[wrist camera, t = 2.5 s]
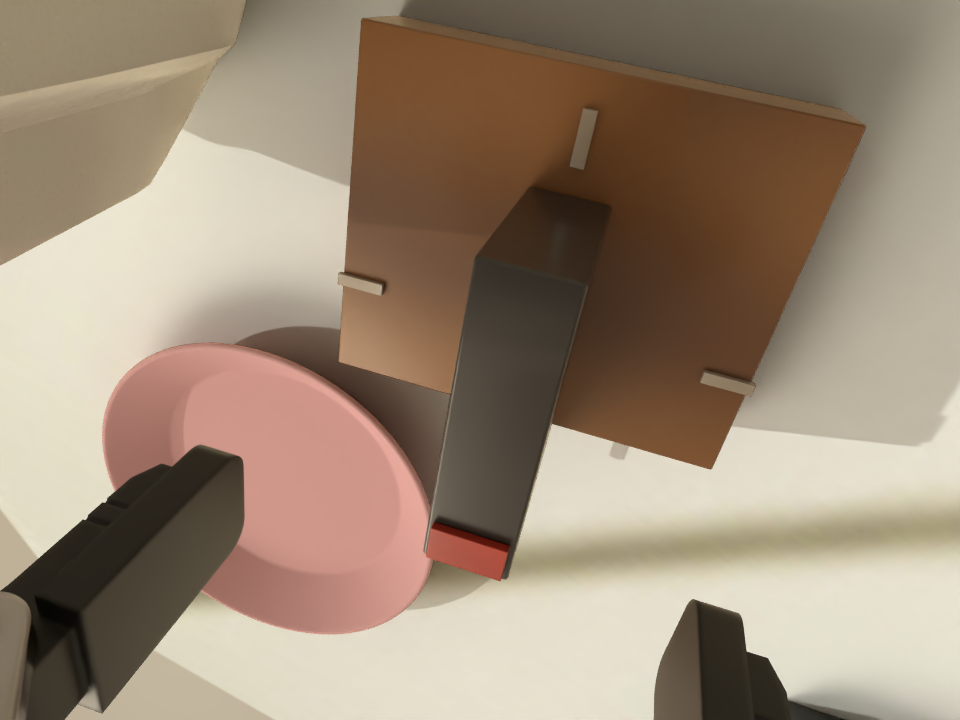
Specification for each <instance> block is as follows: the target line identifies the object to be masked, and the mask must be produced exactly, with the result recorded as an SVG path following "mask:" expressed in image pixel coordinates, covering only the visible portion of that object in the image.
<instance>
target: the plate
mask: <svg viewBox="0 0 960 720" xmlns="http://www.w3.org/2000/svg"><path fill="white" fill-rule="evenodd" d="M102 442H103V452H104V459H105V463H106V467H107V471H108V474H109V477H110V480H111V483H112V486H113V488H114V491H116V490H117V489H119V488H120V487H121V486H122V485H123V484H124V483H125V482H127V481H128V480H129V479H130V478H131V477H134V476H136V475H138V474H140V473H142V472H144V471H146V470H148V469H151V468H153V467H155V466H157V465H159V464H161V463H162V464H165V465H168V466H171V467H172V466H173V465H174V464H175V463H177V462H178V461H179V460H180V459H181V458H182V457H183V456H184V455H185V454H186V453H187V452H188V451H189V450H191V449H192V448H193V447H195V446H197V445H205V446H208V447H212V448H215V449H218V450H221V451H224V452H228V453H231V454H234V455H237V456H240V457H241V458H242V460H243V464H244V509H245V519H244V526H243V530H242V533H241V535H240V538H239V540H238V542H237V544H236V546H235V548H234V549H233V551H232V552H231V554H230V555H229V556H228V557H227V559H226V560H225V561H224V562H223V564H222V565H221V566H220V567H219V569H218V570H217V571H216V572H215V574H214V575H213V576H212V577H211V579H210V580H209V581H208V582H207V584H206V585H205V586H204V587H203V589H202V590H201V591H202V592H203V593H205V594H206V595H208V596H209V597H211V598H213V599H214V600H216V601H218V602H219V603H221V604H223V605H225V606H227V607H229V608H231V609H233V610H235V611H237V612H239V613H241V614H243V615H245V616H248V617H250V618H253V619H255V620H258V621H261V622H263V623H266V624H269V625H273V626H276V627H280V628H284V629H288V630H293V631H298V632H305V633H313V634H344V633H352V632H358V631H362V630H366V629H370V628H373V627H375V626H378V625H381V624H383V623H385V622H387V621H389V620H391V619H392V618H394V617H396V616H397V615H399V614H400V613H401V612H403V611H404V610H405V609H406V608H407V607H408V606H409V605H410V604H411V603H412V602H413V601H414V600H415V599H416V598H417V596H418V595H419V593H420V592H421V590H422V589H423V587H424V585H425V583H426V581H427V579H428V577H429V574H430V571H431V568H432V564H433V559H430V558H427V557H426V554H425V553H424V552H423V548H424V542H425V537H426V531H427V525H428V520H429V514H430V505H429V501H428V498H427V495H426V493H425V490H424V488H423V485H422V483H421V481H420V479H419V477H418V475H417V473H416V471H415V469H414V467H413V466H412V464H411V462H410V461H409V459H408V457H407V456H406V454H405V453H404V451H403V450H402V449H401V447H400V446H399V445H398V443H397V442H396V441H395V439H394V438H393V437H392V436H391V434H390V433H389V432H388V431H387V430H386V429H385V428H384V426H383V425H382V424H381V423H380V422H379V421H378V420H377V419H376V418H375V417H374V416H373V415H372V414H371V413H370V412H369V411H368V410H367V409H365V408H364V407H363V406H362V405H361V404H360V403H358V402H357V401H356V400H355V399H354V398H352V397H351V396H350V395H348V394H347V393H346V392H345V391H343V390H342V389H340V388H339V387H337V386H336V385H335V384H333V383H331V382H330V381H328V380H327V379H325V378H324V377H322V376H320V375H318V374H317V373H315V372H313V371H311V370H309V369H307V368H305V367H303V366H301V365H299V364H297V363H295V362H292V361H290V360H288V359H285V358H283V357H280V356H277V355H274V354H271V353H268V352H265V351H261V350H258V349H254V348H249V347H245V346H239V345H233V344H224V343H195V344H187V345H181V346H176V347H172V348H169V349H165V350H162V351H160V352H157V353H155V354H153V355H151V356H149V357H147V358H145V359H144V360H142V361H141V362H139V363H138V364H136V365H135V366H134V367H133V368H132V369H130V370H129V371H128V372H127V373H126V374H125V375H124V376H123V378H122V379H121V380H120V381H119V383H118V384H117V386H116V387H115V389H114V391H113V393H112V395H111V397H110V399H109V401H108V404H107V407H106V411H105V415H104V421H103V431H102Z"/></svg>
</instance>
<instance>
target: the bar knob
mask: <svg viewBox="0 0 960 720" xmlns="http://www.w3.org/2000/svg"><path fill="white" fill-rule="evenodd" d="M611 210H612V209H611V206H610V205H606V204H602V203H598V202H594V201H590V200H585V199H581V198H577V197H573V196H569V195H565V194H561V193H556V192H552V191H548V190H544V189H540V188H536V187H532V186H531V187H528V189H527V190H526V191H525V192H524V194H523V195H522V196H521V198H520V199H519V200H518V202H517V203H516V204H515V205H514V207H513V208H512V209H511V211H510V212H509V213H508V215H507V216H506V217H505V218H504V220H503V221H502V222H501V224H500V225H499V226H498V228H497V229H496V230H495V231H494V233H493V234H492V235H491V237H490V238H489V239H488V241H487V242H486V243H485V244H484V246H483V247H482V248H481V250H480V251H479V252H478V254H477V255H476V256H475V258H474V261H473V267H472V273H471V279H470V284H469V290H468V296H467V302H466V307H465V313H464V319H463V324H462V330H461V336H460V342H459V347H458V353H457V359H456V365H455V370H454V376H453V382H452V388H451V393H450V399H449V405H448V411H447V416H446V422H445V428H444V433H443V439H442V445H441V451H440V456H439V462H438V468H437V474H436V479H435V485H434V491H433V497H432V502H431V508H430V514H429V520H428V525H427V531H426V537H425V542H424V548H423V552H424V553H425V554H426V557H427V558H430V559H433V560H436V561H439V562H442V563H445V564H449V565H452V566H455V567H458V568H461V569H464V570H467V571H470V572H473V573H476V574H479V575H482V576H485V577H488V578H492V579H495V580H498V581H501V579H507V578H508V577H509V573H510V570H511V566H512V563H513V559H514V556H515V552H516V549H517V545H518V542H519V538H520V535H521V531H522V528H523V524H524V521H525V517H526V514H527V510H528V507H529V503H530V500H531V496H532V493H533V489H534V486H535V482H536V479H537V475H538V472H539V468H540V465H541V461H542V458H543V454H544V451H545V447H546V444H547V440H548V436H549V433H550V429H551V426H552V422H553V418H554V415H555V411H556V408H557V404H558V400H559V397H560V393H561V390H562V386H563V382H564V379H565V375H566V372H567V368H568V364H569V361H570V357H571V354H572V350H573V346H574V343H575V339H576V336H577V332H578V328H579V325H580V321H581V318H582V314H583V310H584V307H585V303H586V300H587V296H588V292H589V289H590V285H591V282H592V278H593V274H594V271H595V267H596V264H597V260H598V256H599V253H600V249H601V246H602V242H603V238H604V235H605V231H606V228H607V224H608V220H609V217H610V213H611Z"/></svg>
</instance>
